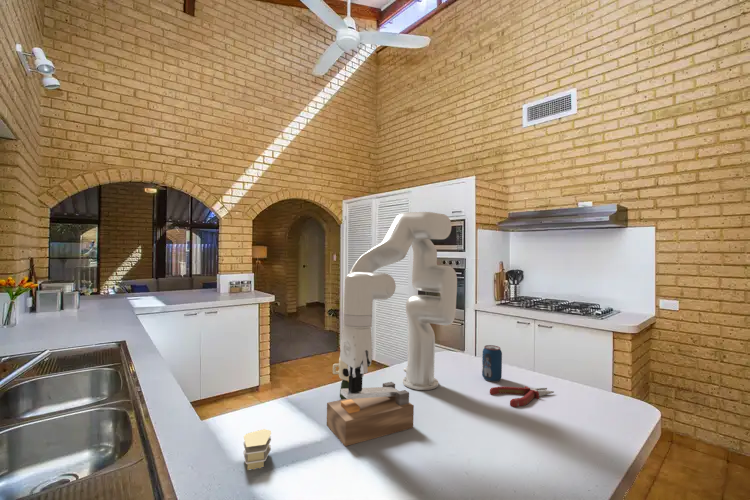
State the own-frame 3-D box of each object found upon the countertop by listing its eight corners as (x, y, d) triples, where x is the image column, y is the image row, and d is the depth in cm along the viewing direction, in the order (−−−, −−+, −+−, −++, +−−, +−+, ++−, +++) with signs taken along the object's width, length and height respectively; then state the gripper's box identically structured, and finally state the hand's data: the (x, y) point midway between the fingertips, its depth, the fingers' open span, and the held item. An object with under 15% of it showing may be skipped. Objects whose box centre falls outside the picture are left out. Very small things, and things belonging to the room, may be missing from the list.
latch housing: (326, 424, 98) (327, 391, 98) (389, 410, 108) (390, 379, 108) (345, 446, 87) (346, 408, 87) (413, 427, 97) (413, 394, 97)
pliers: (565, 400, 118) (565, 392, 118) (513, 409, 111) (513, 400, 111) (536, 387, 129) (537, 380, 129) (487, 394, 122) (488, 386, 122)
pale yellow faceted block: (279, 472, 77) (279, 446, 78) (234, 479, 75) (234, 452, 75) (276, 447, 87) (277, 424, 87) (236, 453, 84) (237, 429, 84)
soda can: (500, 377, 138) (501, 345, 138) (502, 383, 132) (503, 350, 132) (481, 375, 140) (482, 344, 140) (482, 381, 133) (483, 348, 133)
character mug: (332, 404, 111) (333, 361, 111) (331, 394, 118) (332, 355, 118) (368, 402, 113) (368, 360, 113) (364, 393, 120) (365, 354, 120)
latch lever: (339, 392, 96) (340, 388, 96) (392, 390, 104) (393, 386, 104) (347, 399, 92) (348, 394, 92) (401, 396, 100) (402, 392, 100)
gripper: (333, 316, 100) (330, 384, 100) (357, 326, 87) (355, 404, 87) (357, 315, 104) (355, 380, 103) (384, 324, 91) (382, 399, 90)
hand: (355, 390), depth 95 cm, fingers closed
